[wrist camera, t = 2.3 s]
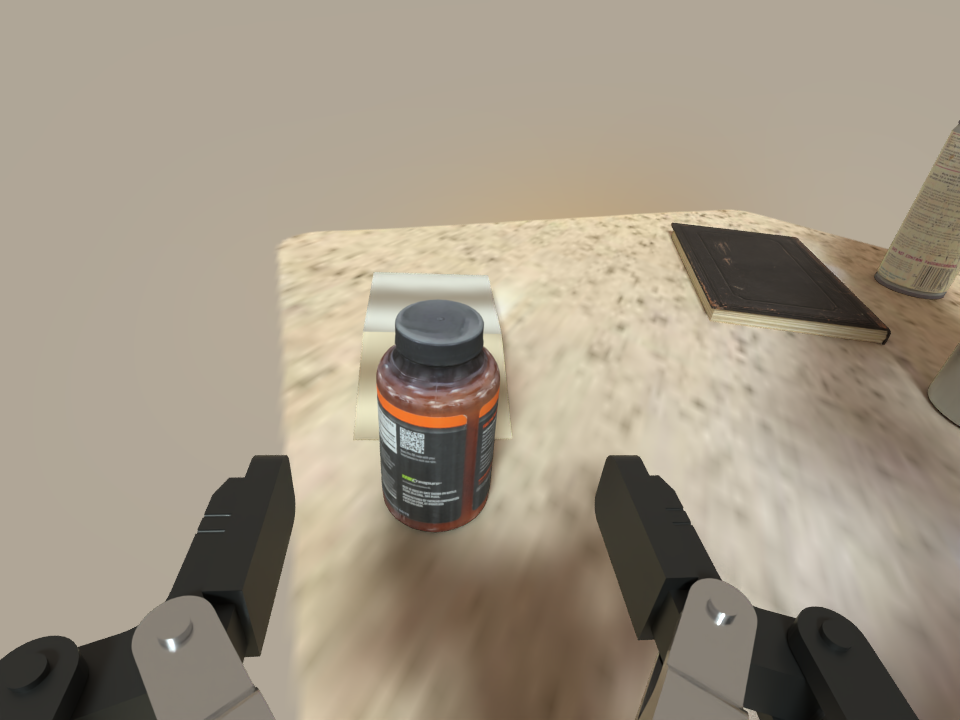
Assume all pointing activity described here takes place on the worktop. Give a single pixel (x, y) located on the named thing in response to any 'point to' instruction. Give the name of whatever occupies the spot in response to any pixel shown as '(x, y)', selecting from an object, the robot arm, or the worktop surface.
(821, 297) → the hardcover book
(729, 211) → the worktop surface
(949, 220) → the aerosol can
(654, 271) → the worktop surface
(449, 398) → the supplement bottle
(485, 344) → the ramp bench
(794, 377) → the worktop surface
